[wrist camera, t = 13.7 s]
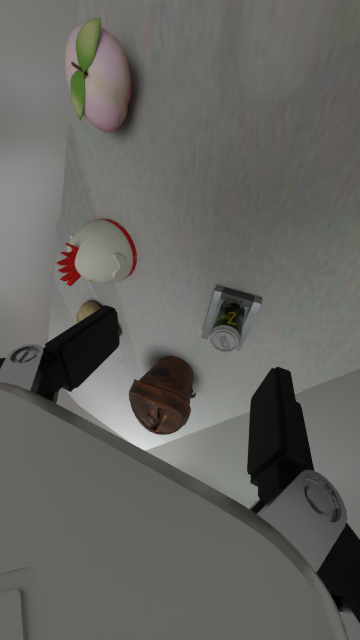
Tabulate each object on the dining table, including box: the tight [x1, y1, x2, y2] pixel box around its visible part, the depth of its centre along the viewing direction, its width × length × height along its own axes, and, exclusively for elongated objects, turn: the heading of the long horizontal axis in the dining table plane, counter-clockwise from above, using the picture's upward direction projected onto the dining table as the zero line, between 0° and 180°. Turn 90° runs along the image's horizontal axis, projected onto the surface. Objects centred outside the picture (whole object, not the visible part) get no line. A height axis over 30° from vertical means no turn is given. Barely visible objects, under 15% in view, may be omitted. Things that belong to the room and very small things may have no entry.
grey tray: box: [202, 285, 262, 351], centre depth 41 cm, size 13×10×3 cm
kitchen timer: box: [57, 220, 137, 286], centre depth 39 cm, size 14×14×15 cm
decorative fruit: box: [65, 18, 131, 132], centre depth 25 cm, size 9×8×10 cm
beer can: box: [210, 301, 245, 352], centre depth 36 cm, size 5×5×12 cm
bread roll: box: [77, 301, 120, 337], centre depth 56 cm, size 10×15×8 cm, turn 43°
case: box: [129, 356, 196, 435], centre depth 53 cm, size 18×20×18 cm
